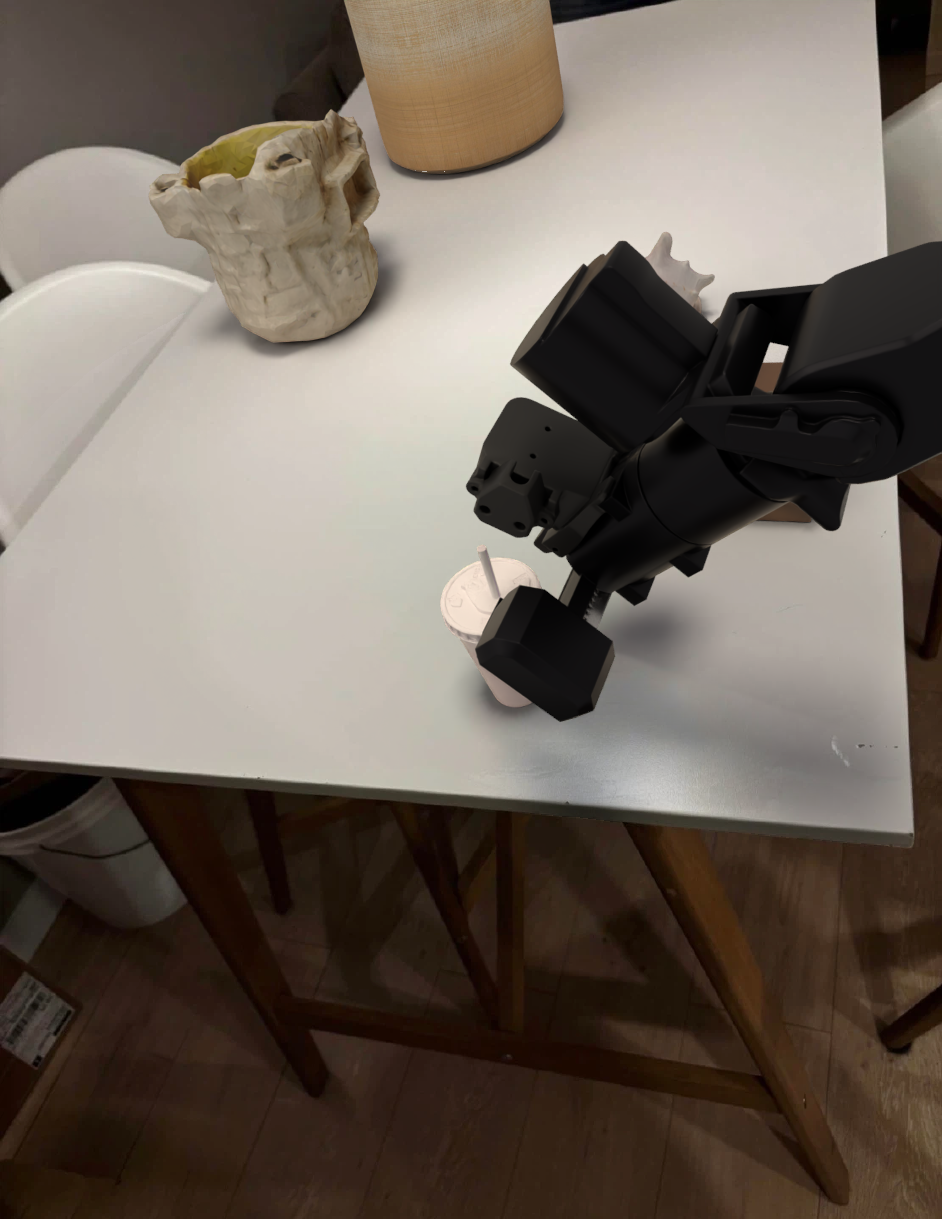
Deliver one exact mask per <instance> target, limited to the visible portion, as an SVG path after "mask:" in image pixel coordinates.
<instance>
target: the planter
mask: <svg viewBox="0 0 942 1219" xmlns="http://www.w3.org/2000/svg"><path fill="white" fill-rule="evenodd" d="M343 3H344V6H345V9H346V12H347V17H348V20H349V23H350V26H351V31H352V35H353V38H354V41H355V46H356V48H357V52H358V56H359V60H360V64H361V67H362V70H363V74H364V78H365V81H366V84H367V89H368V92H369V97H370V100H371V104H372V107H373V112H374V115H375V119H376V122H377V126H378V129H379V133H380V137H381V141H382V144H383V147H384V149H385V151H386V154H387V156H388V158H389V159H390V160H391V161H392V162H393V163H395V164H396V165H397V166H399V167H402V168H403V169H406V170H410V171H413V172H416V173H421V174H428V175H447V174H456V173H457V174H458V173H464V172H470V171H474V170H478V169H482V168H486V167H488V166H493V165H495V164H498V163H501V162H504V161H507V160H509V159H511V158H513V157H515V156H517V155H519V154H522V153H523V152H525V151H527V150H529V149H530V148H532V147H533V146H534V145H536V144H537V143H539V142H540V141H541V140H543V139H544V138H545V137H546V136H547V135H548V134H549V133H550V131H551V130H552V129H553V128H554V127H555V126H556V124H557V123H558V122H559V121H560V119H561V117H562V116H563V112H564V107H565V101H564V100H565V98H564V97H565V96H564V89H563V88H564V87H563V81H562V74H561V69H560V62H559V56H558V48H557V43H556V37H555V36H556V35H555V30H554V23H553V17H552V10H551V4H550V0H343ZM415 170H416V171H415ZM422 171H427V172H422ZM444 171H445V172H444Z"/></svg>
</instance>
